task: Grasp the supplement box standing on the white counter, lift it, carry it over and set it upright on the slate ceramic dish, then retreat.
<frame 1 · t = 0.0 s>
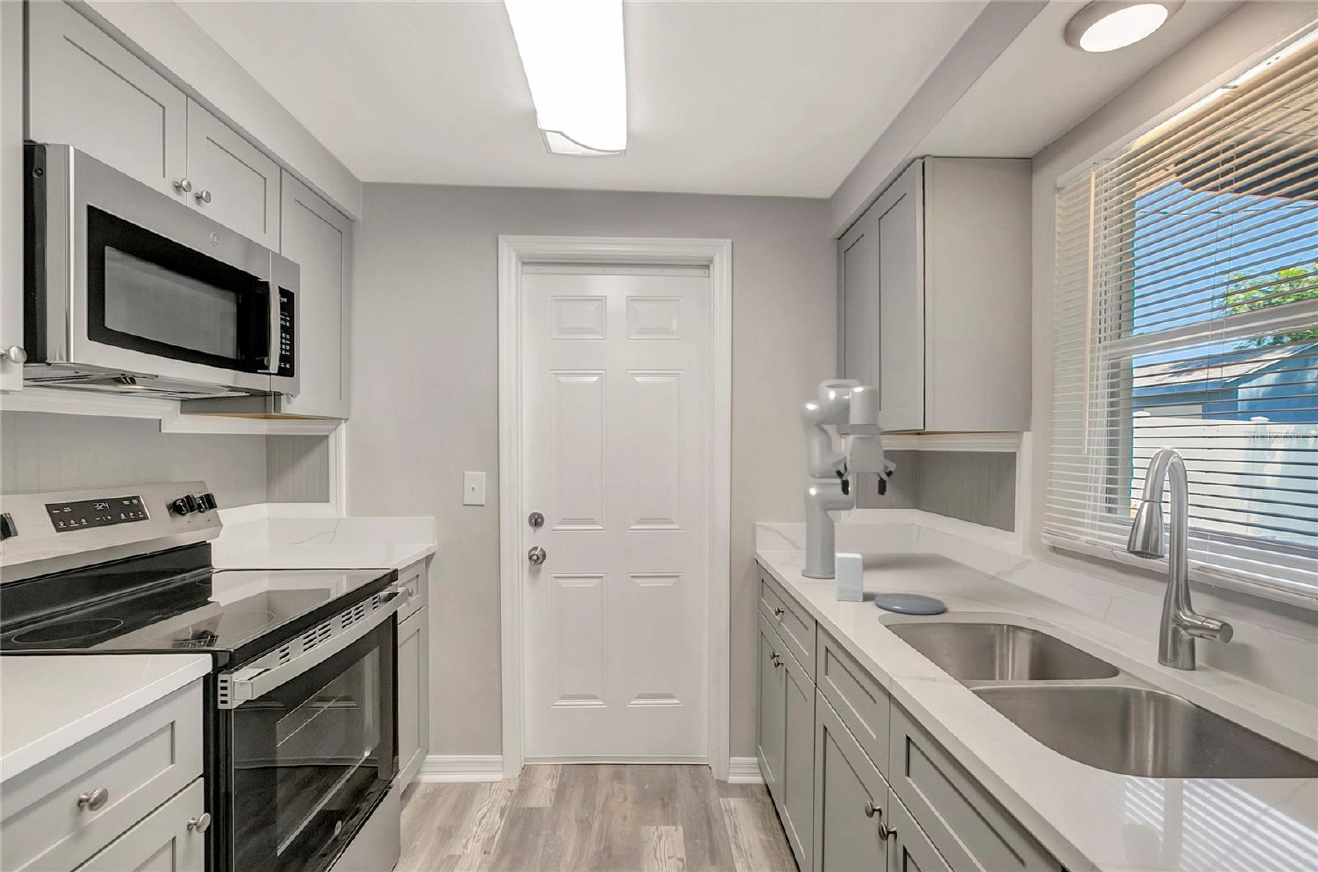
hand: (863, 494, 170), 31 cm above the worktop, tool pointing down, fingers open, 9 cm apart
slate dish: (908, 606, 173), on the worktop
supplement box: (848, 598, 182), on the worktop
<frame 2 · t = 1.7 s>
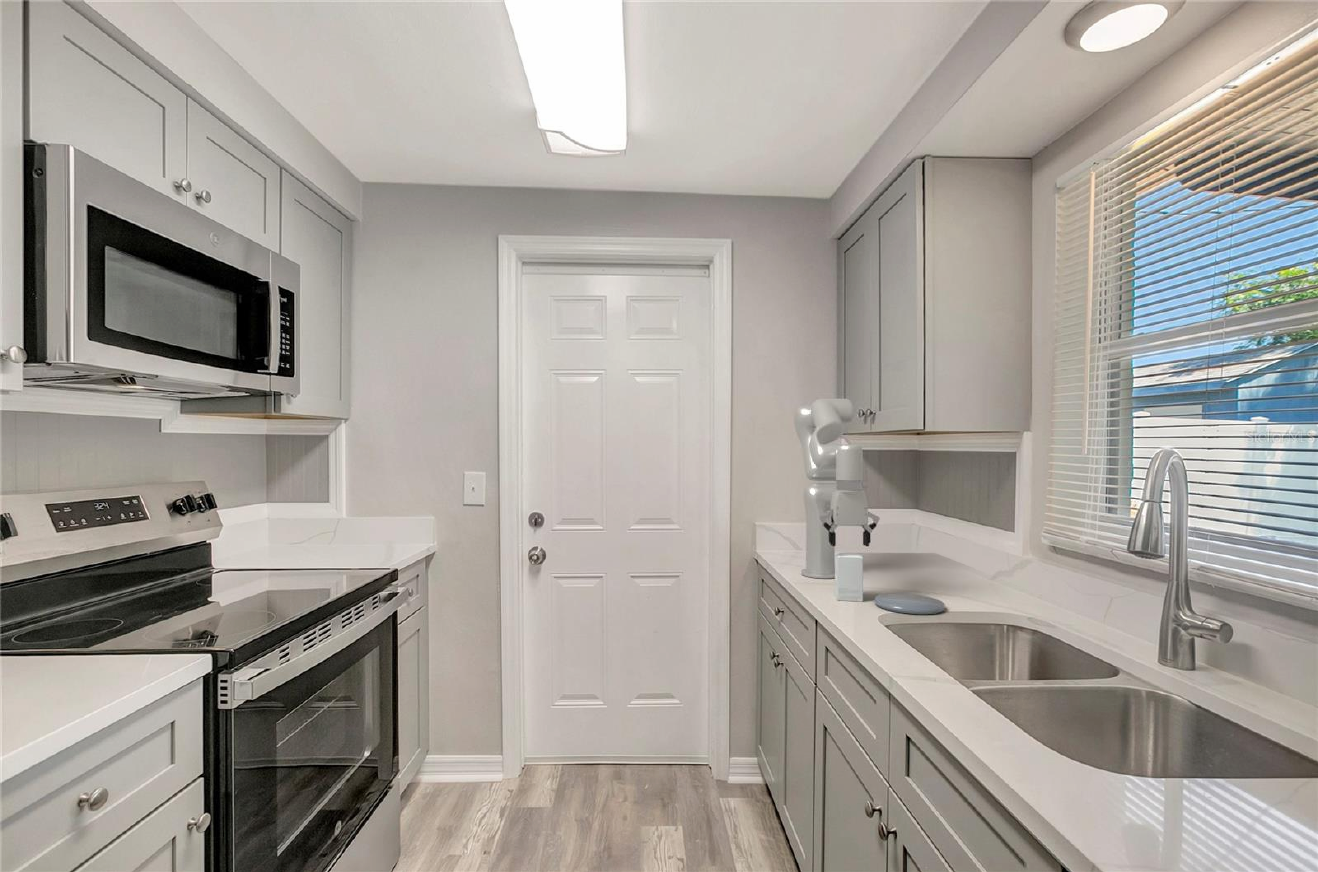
hand: (849, 545, 182), 15 cm above the worktop, tool pointing down, fingers open, 9 cm apart
nothing on the worktop moved.
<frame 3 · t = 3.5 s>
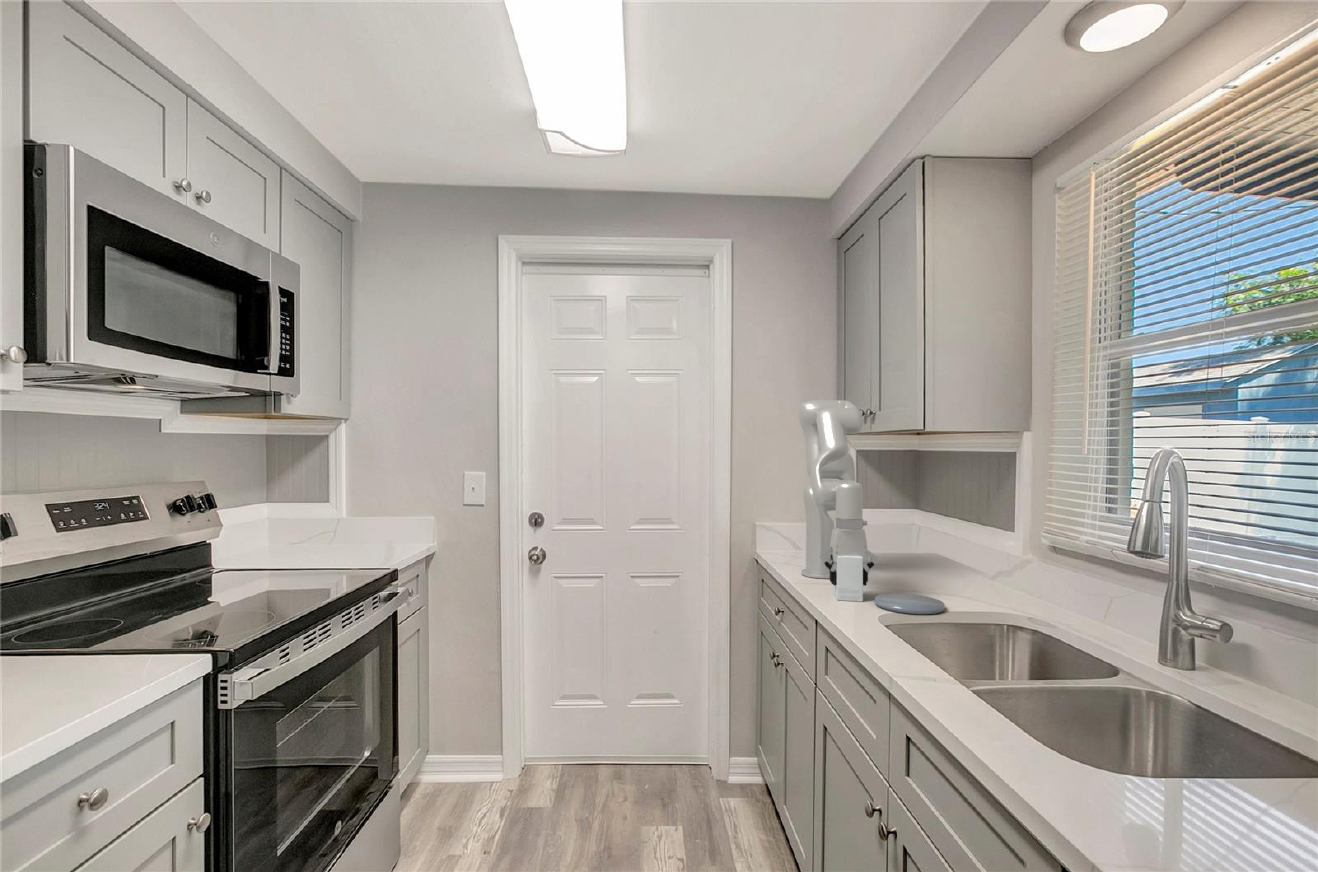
hand: (848, 584, 182), 4 cm above the worktop, tool pointing down, fingers closed on supplement box, 8 cm apart
supplement box: (848, 598, 182), on the worktop, touching gripper
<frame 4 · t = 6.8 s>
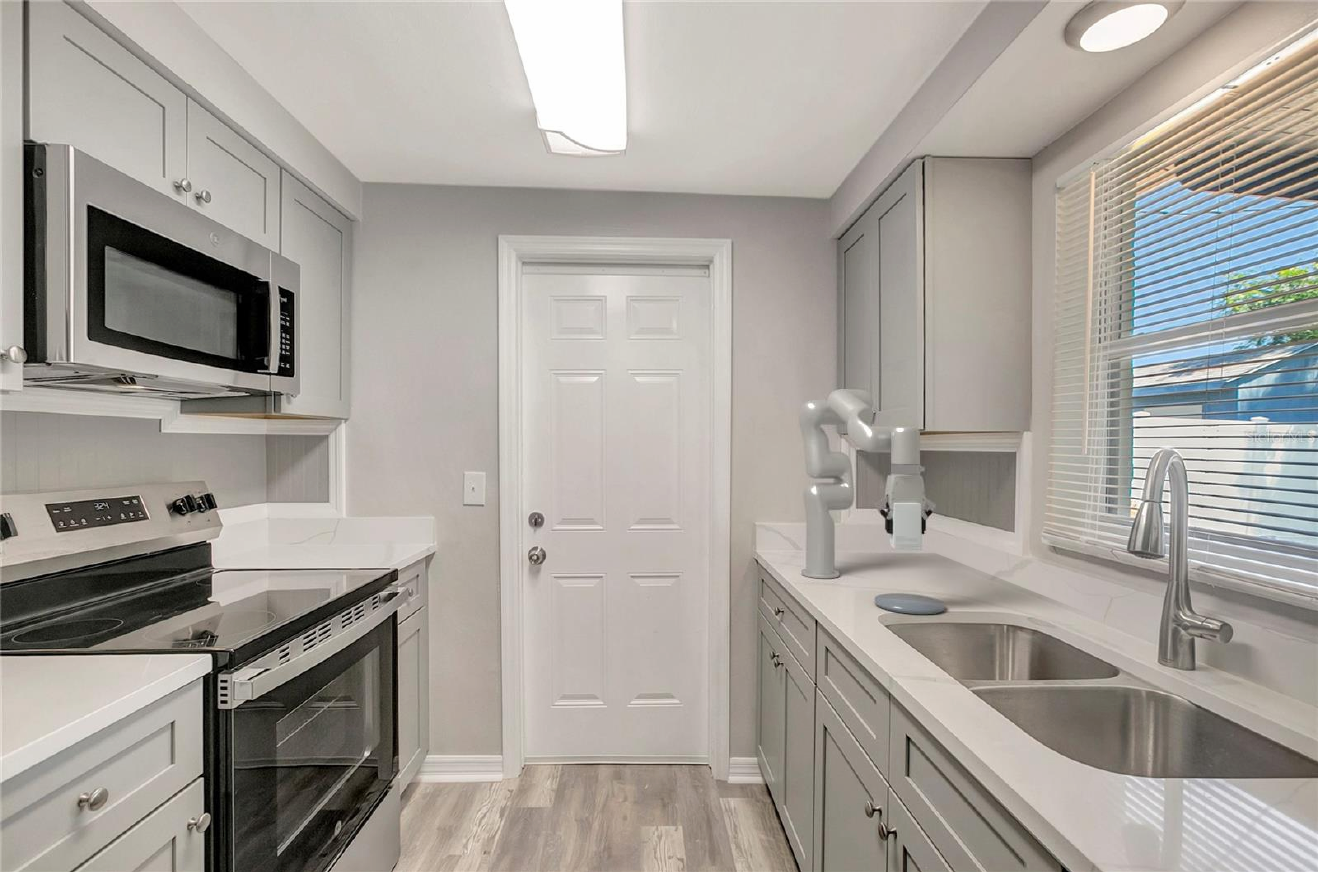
hand: (905, 533, 174), 20 cm above the worktop, tool pointing down, fingers closed on supplement box, 8 cm apart
supplement box: (905, 548, 174), point 16 cm above the worktop, touching gripper
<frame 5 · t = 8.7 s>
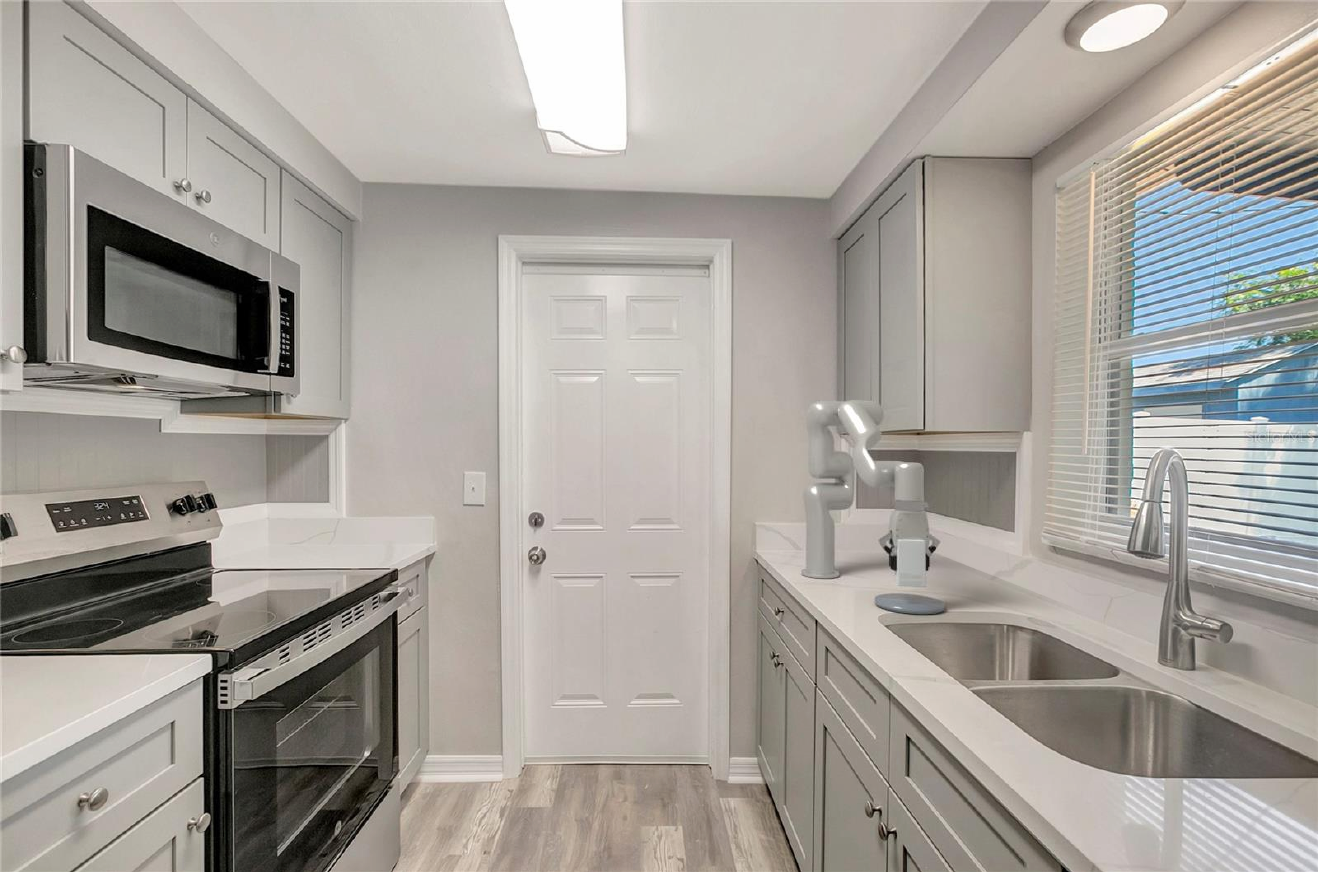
hand: (909, 569, 173), 10 cm above the worktop, tool pointing down, fingers closed on supplement box, 8 cm apart
supplement box: (909, 584, 173), point 6 cm above the worktop, touching gripper
when the fingers open (6 cm above the worktop, at t = 10.1 s): supplement box stays where it is, resting on slate dish.
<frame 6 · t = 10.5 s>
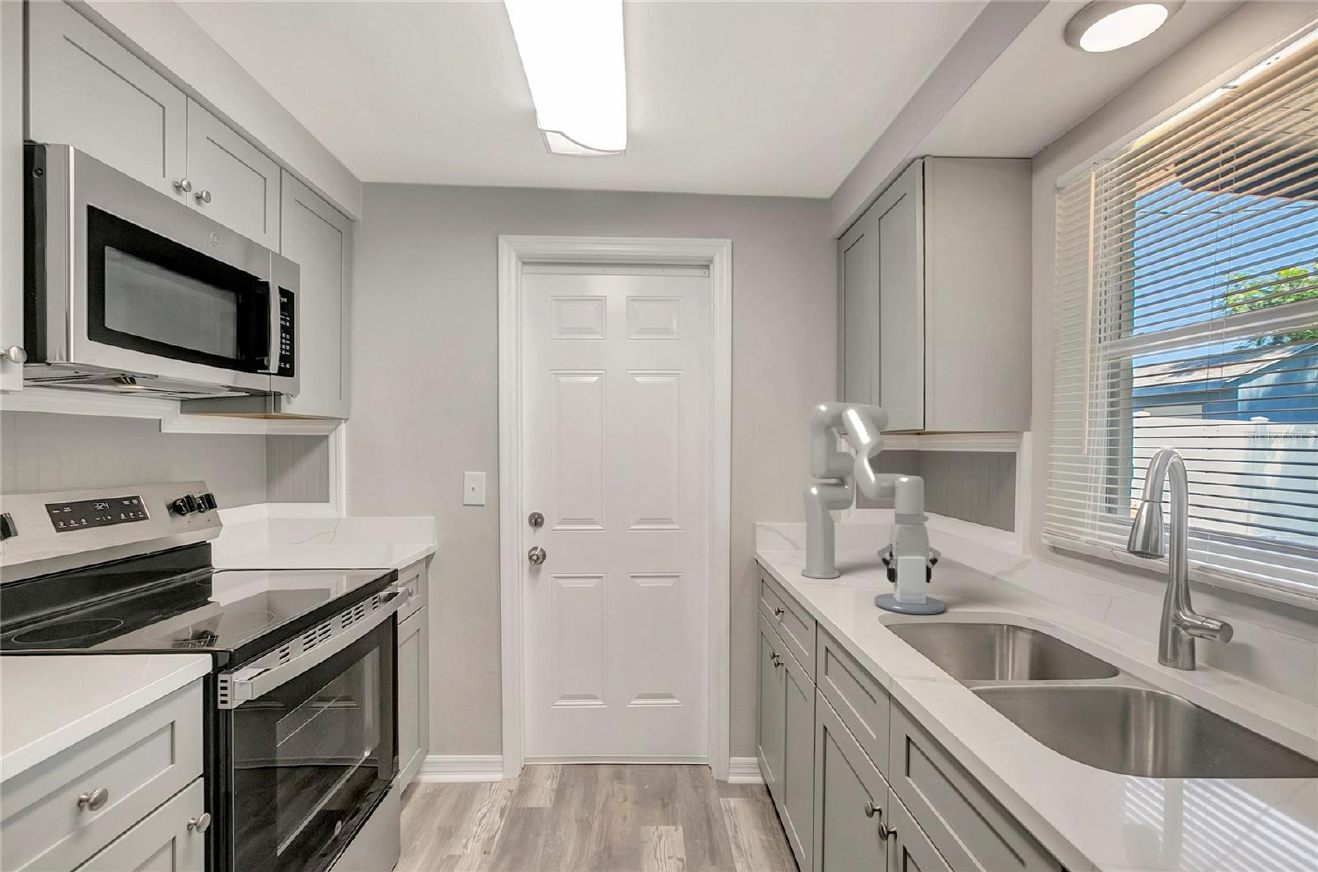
hand: (909, 581, 173), 7 cm above the worktop, tool pointing down, fingers open, 9 cm apart
supplement box: (909, 601, 174), point 1 cm above the worktop, touching slate dish
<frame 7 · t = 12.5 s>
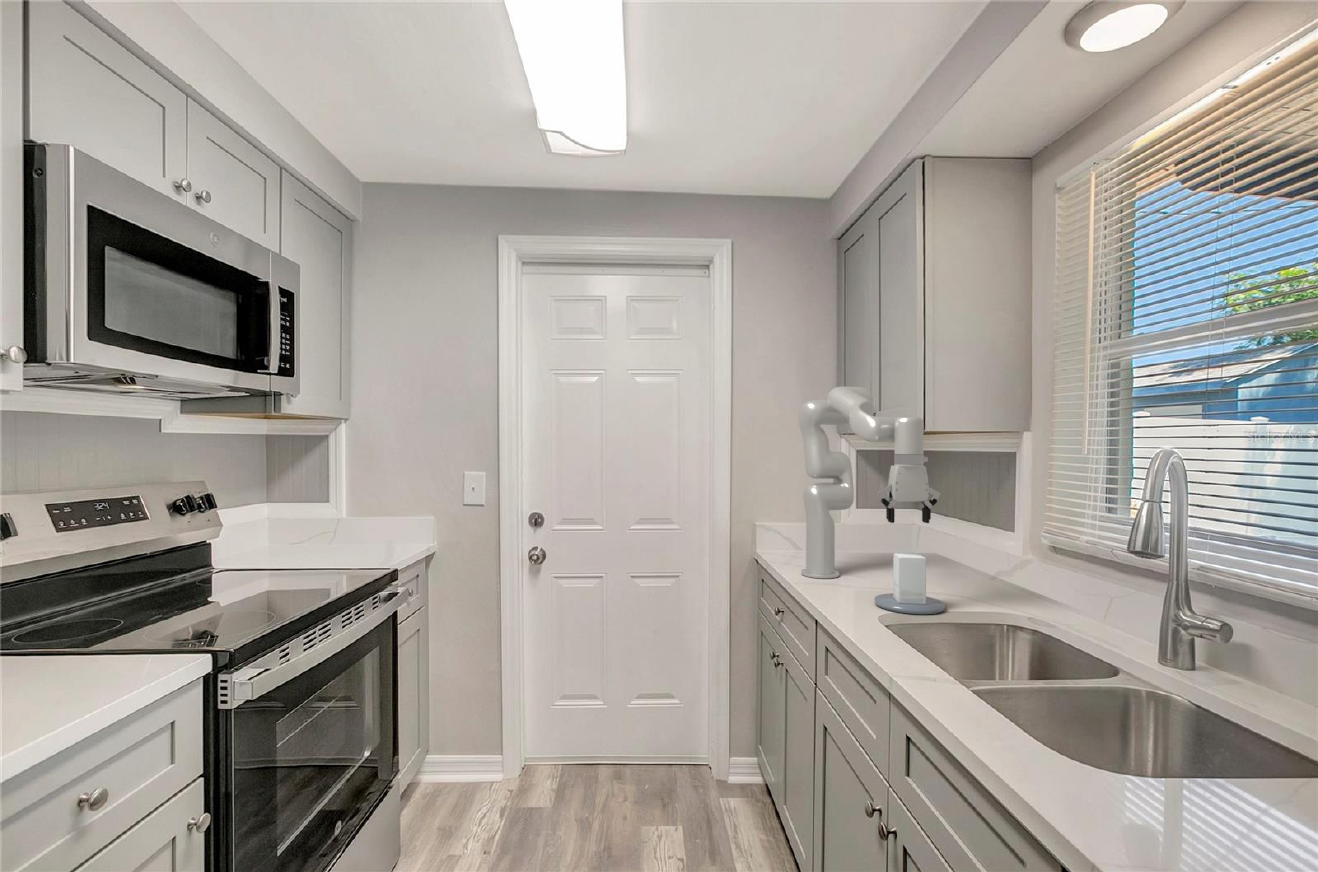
hand: (908, 522, 174), 23 cm above the worktop, tool pointing down, fingers open, 9 cm apart
nothing on the worktop moved.
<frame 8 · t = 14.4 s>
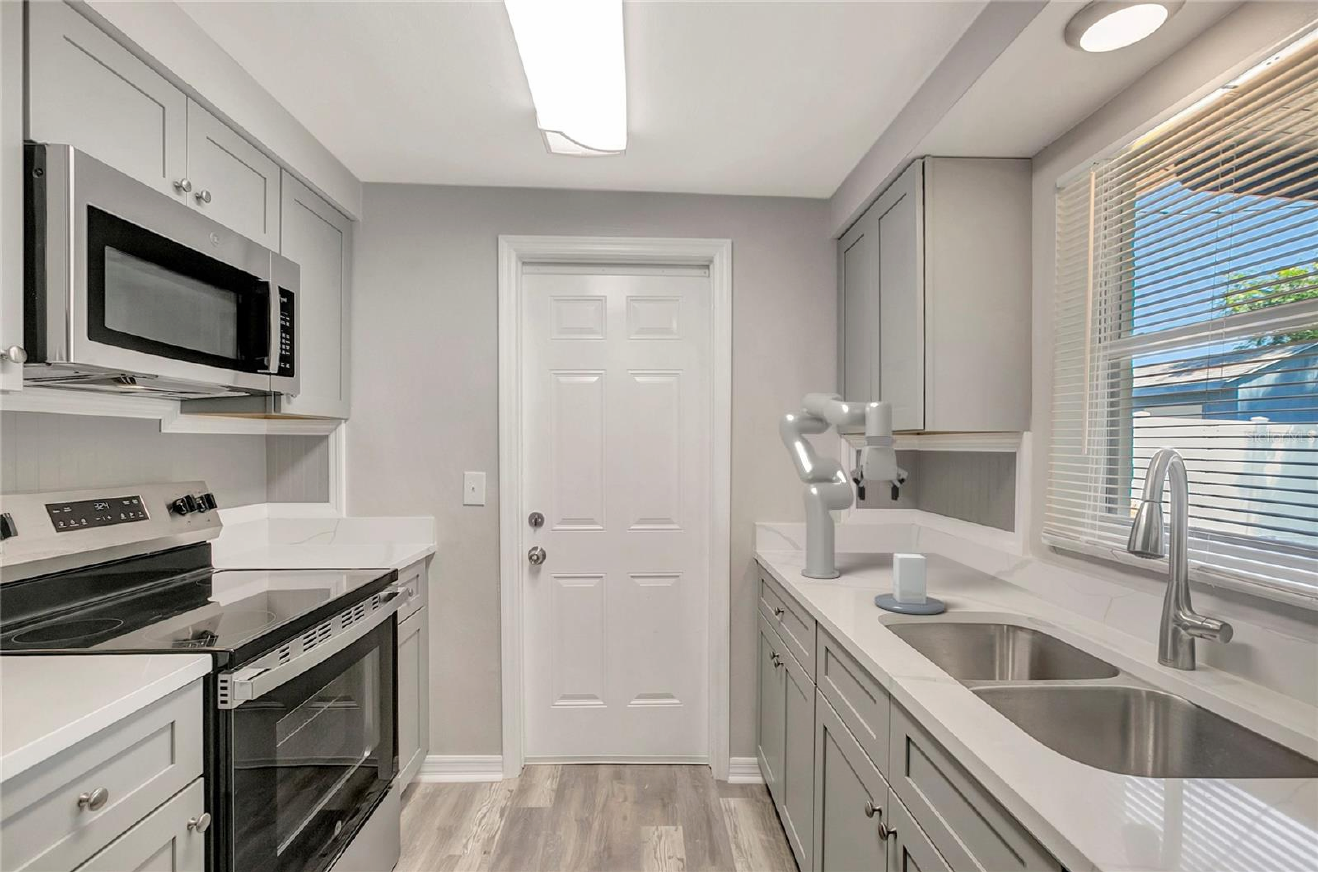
hand: (878, 500, 187), 28 cm above the worktop, tool pointing down, fingers open, 9 cm apart
nothing on the worktop moved.
at the end: supplement box inside the target area on the slate dish (0.2 cm from its centre), point 1.3 cm above the slate dish's base; supplement box tilted 0°; the gripper is holding nothing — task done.
